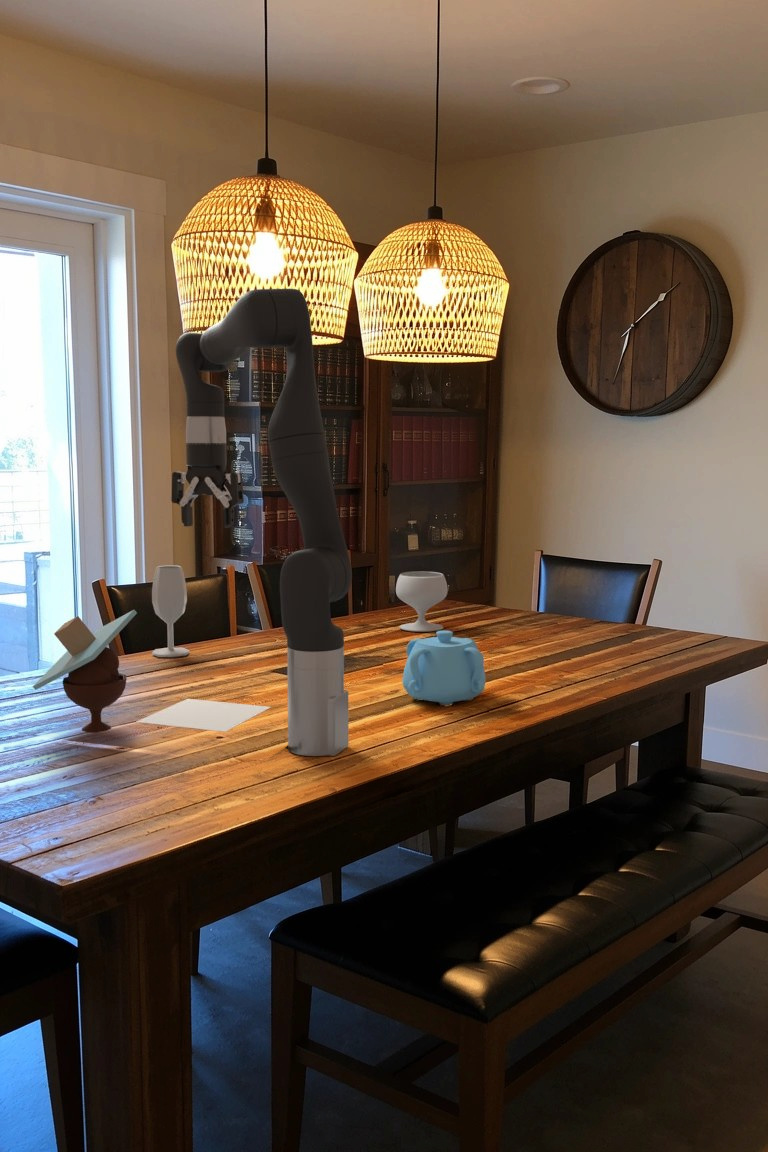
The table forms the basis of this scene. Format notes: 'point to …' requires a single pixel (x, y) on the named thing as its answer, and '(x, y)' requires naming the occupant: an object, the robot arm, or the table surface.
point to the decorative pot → (444, 669)
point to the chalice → (421, 596)
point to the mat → (204, 715)
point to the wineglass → (169, 603)
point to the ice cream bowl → (96, 687)
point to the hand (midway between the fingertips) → (207, 526)
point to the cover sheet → (87, 653)
